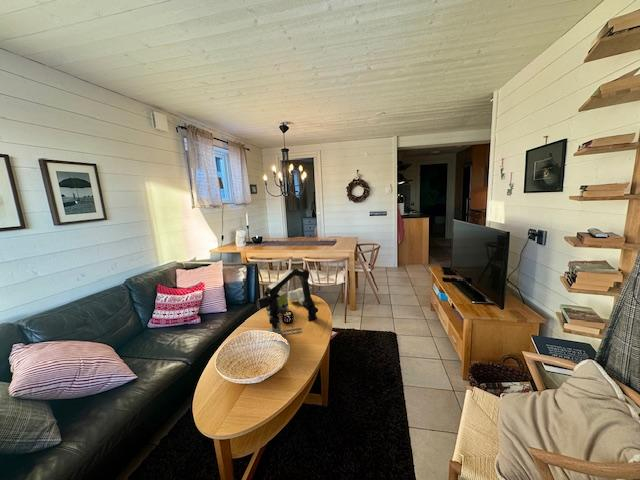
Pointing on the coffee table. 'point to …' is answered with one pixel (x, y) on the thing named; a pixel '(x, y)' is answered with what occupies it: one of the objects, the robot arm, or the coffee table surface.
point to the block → (274, 328)
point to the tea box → (280, 301)
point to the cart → (279, 329)
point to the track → (291, 331)
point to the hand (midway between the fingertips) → (275, 326)
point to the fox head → (297, 295)
